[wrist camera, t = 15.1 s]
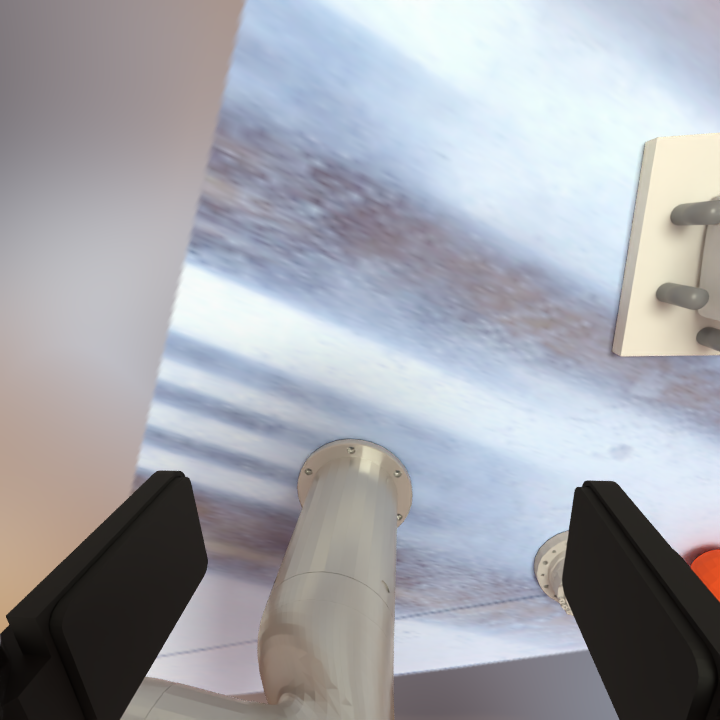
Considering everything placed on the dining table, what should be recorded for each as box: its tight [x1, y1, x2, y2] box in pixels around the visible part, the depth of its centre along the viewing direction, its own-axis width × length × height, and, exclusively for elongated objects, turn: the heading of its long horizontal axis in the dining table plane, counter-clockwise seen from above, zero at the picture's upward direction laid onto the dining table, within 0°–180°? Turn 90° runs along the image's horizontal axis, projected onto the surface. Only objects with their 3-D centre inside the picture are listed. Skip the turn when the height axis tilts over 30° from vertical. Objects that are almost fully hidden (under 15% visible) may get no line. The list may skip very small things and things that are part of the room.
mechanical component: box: [534, 531, 574, 616], centre depth 41 cm, size 10×4×10 cm
